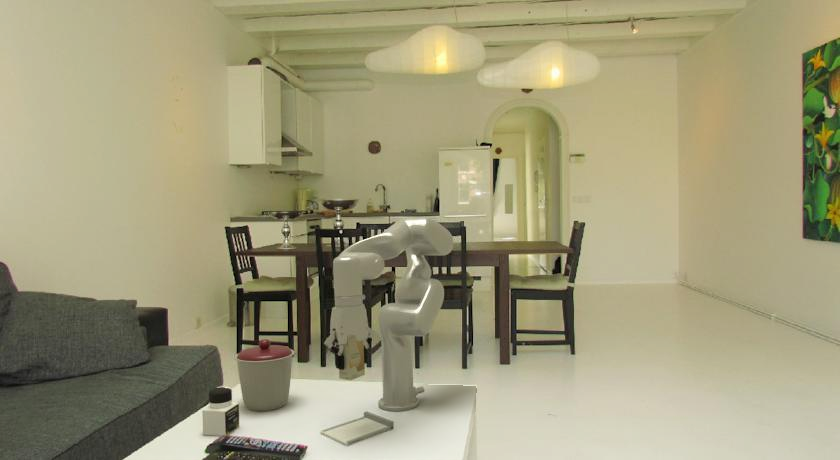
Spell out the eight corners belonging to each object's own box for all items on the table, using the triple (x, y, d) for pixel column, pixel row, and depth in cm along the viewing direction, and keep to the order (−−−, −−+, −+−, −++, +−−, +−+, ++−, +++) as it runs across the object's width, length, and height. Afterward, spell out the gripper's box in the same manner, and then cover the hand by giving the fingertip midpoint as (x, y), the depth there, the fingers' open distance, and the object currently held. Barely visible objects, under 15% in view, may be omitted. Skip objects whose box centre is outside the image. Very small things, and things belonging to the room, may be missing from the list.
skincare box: (350, 381, 149) (348, 336, 149) (338, 379, 152) (336, 334, 151) (366, 374, 155) (364, 331, 154) (354, 372, 157) (352, 329, 156)
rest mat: (366, 418, 163) (366, 411, 163) (393, 428, 154) (393, 421, 154) (320, 433, 152) (320, 426, 152) (346, 446, 143) (346, 438, 143)
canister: (266, 419, 164) (264, 348, 163) (223, 410, 172) (221, 342, 172) (307, 401, 179) (305, 336, 179) (266, 393, 188) (264, 331, 188)
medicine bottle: (226, 436, 151) (224, 392, 151) (202, 435, 153) (201, 391, 153) (239, 427, 158) (238, 385, 158) (217, 425, 160) (215, 384, 160)
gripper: (366, 295, 161) (369, 356, 162) (313, 304, 149) (317, 370, 150) (382, 298, 155) (385, 361, 156) (329, 307, 144) (332, 376, 144)
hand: (351, 365), depth 153 cm, fingers closed on skincare box, 6 cm apart
